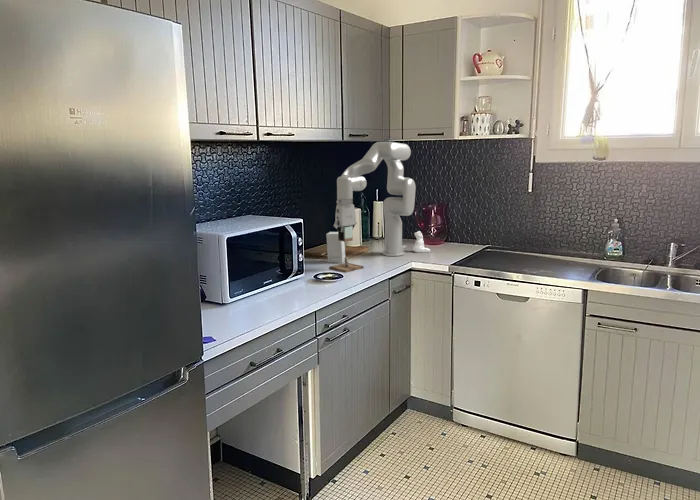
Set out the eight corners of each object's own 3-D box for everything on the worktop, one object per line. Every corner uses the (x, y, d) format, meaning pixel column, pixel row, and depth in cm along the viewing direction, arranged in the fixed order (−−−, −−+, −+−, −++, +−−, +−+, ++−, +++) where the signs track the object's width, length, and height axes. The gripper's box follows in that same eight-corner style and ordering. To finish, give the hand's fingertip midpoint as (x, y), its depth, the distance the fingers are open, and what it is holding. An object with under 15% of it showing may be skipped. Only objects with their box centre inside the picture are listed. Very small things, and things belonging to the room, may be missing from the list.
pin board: (346, 264, 275) (346, 254, 274) (363, 268, 266) (363, 257, 265) (329, 268, 267) (329, 257, 266) (346, 272, 258) (345, 261, 257)
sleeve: (352, 240, 263) (352, 226, 262) (345, 241, 260) (345, 227, 259) (345, 239, 267) (345, 225, 266) (338, 240, 264) (338, 226, 262)
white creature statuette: (431, 252, 300) (431, 231, 298) (417, 254, 297) (417, 232, 295) (422, 249, 309) (423, 229, 307) (409, 251, 306) (409, 230, 304)
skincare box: (345, 260, 284) (345, 231, 281) (342, 263, 278) (341, 233, 275) (330, 260, 286) (329, 231, 283) (326, 262, 280) (326, 233, 277)
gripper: (337, 204, 251) (337, 242, 255) (362, 201, 263) (363, 237, 266) (326, 203, 257) (327, 240, 260) (352, 200, 268) (352, 236, 272)
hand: (345, 238), depth 263 cm, fingers closed on sleeve, 5 cm apart
